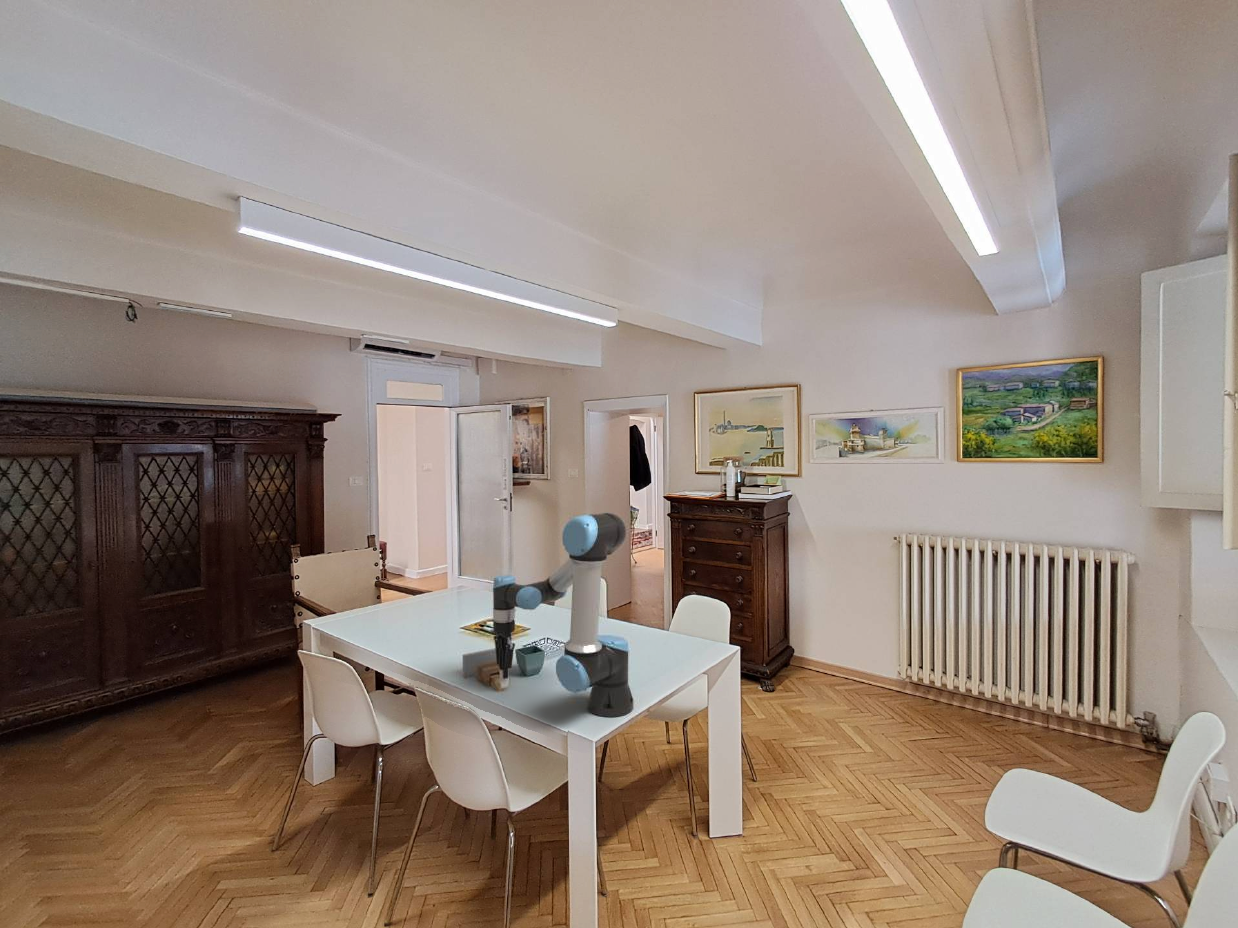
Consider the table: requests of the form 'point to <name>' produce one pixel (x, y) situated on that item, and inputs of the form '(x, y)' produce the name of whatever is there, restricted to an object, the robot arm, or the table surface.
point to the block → (487, 672)
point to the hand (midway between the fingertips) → (504, 686)
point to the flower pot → (530, 659)
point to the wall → (477, 661)
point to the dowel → (496, 682)
